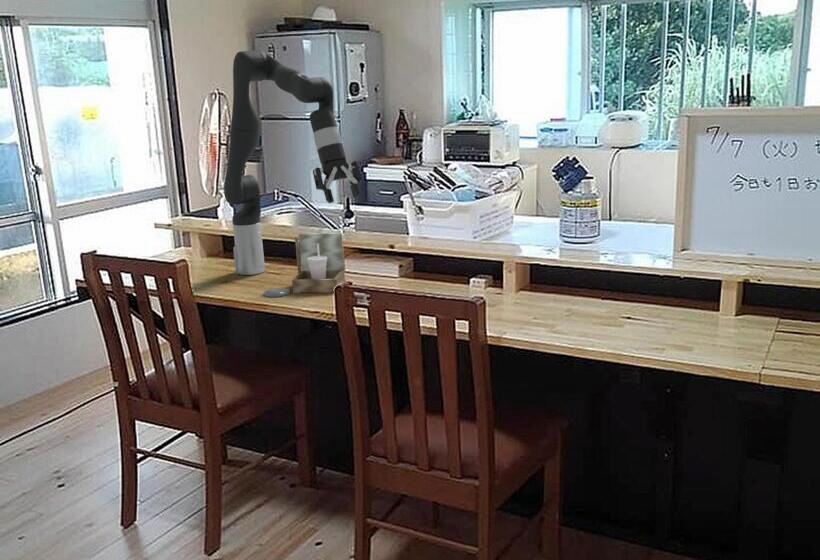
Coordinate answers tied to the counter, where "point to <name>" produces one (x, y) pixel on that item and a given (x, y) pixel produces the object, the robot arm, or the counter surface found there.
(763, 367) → the counter surface
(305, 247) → the cold frame
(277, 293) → the coaster
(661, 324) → the counter surface
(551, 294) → the counter surface
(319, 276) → the smoothie
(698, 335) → the counter surface
